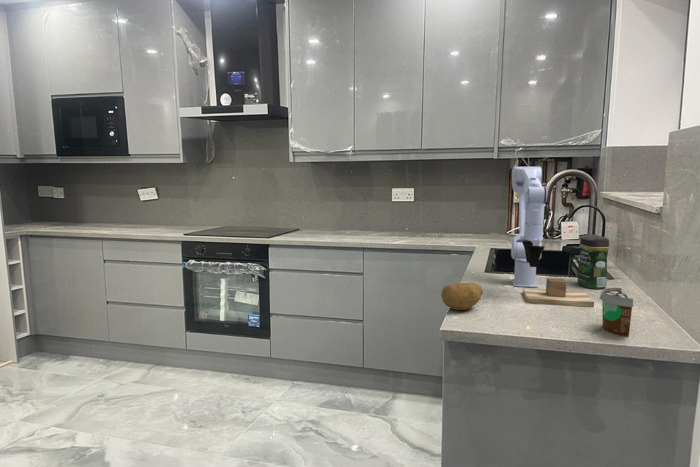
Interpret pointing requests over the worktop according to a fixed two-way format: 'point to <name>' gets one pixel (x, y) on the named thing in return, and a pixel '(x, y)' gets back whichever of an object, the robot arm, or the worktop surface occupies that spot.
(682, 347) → the worktop surface
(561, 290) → the walnut cube
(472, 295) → the potato
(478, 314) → the worktop surface
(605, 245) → the coffee jar
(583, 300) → the oak board
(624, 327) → the food container
